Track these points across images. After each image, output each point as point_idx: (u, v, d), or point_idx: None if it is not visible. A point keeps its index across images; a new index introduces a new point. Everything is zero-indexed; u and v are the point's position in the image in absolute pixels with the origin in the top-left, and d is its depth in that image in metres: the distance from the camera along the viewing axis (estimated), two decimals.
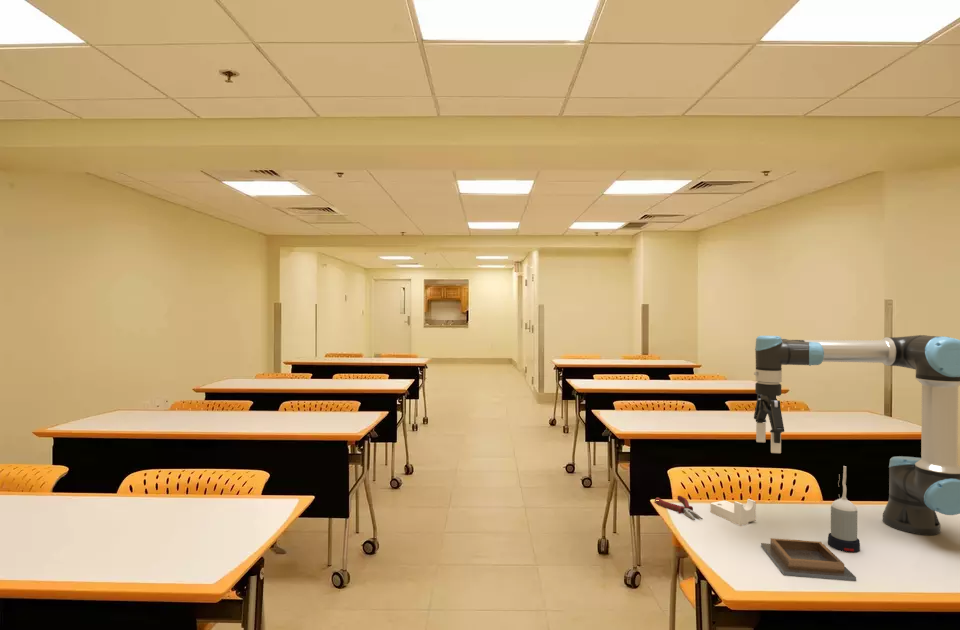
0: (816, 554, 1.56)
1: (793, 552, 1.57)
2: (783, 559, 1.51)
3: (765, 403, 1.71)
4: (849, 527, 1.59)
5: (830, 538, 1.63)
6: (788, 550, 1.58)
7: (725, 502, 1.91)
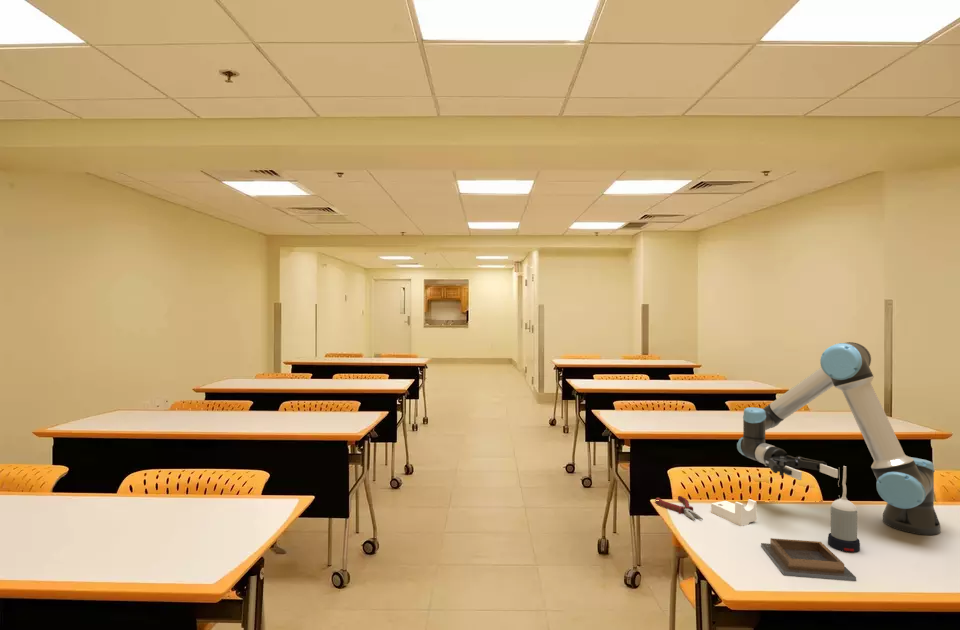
0: (816, 554, 1.56)
1: (793, 552, 1.57)
2: (783, 559, 1.51)
3: (779, 466, 1.86)
4: (849, 527, 1.59)
5: (830, 538, 1.63)
6: (788, 550, 1.58)
7: (726, 502, 1.91)
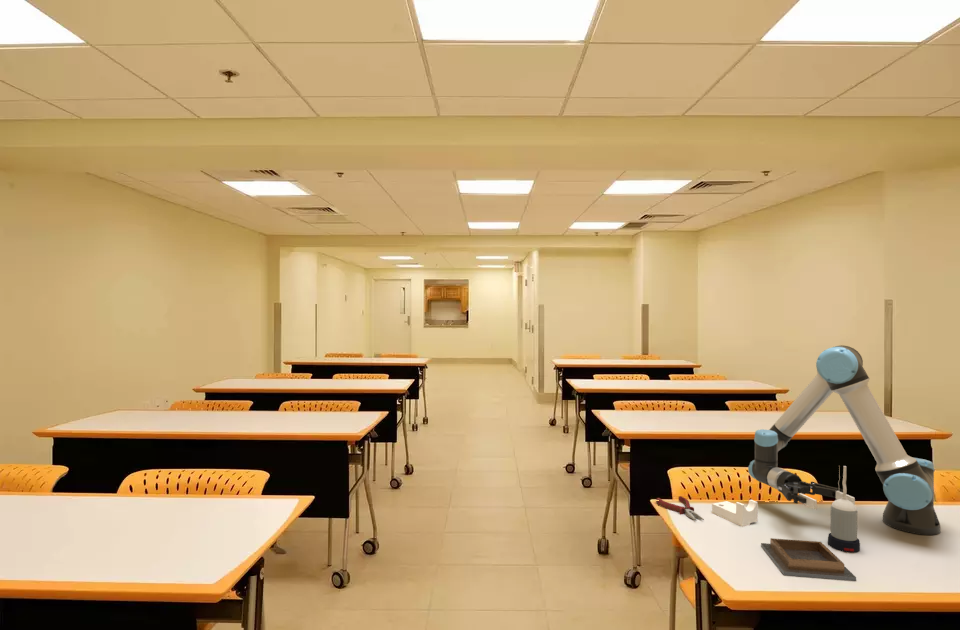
0: (816, 554, 1.56)
1: (793, 552, 1.57)
2: (783, 559, 1.51)
3: (793, 492, 1.79)
4: (849, 527, 1.59)
5: (830, 538, 1.63)
6: (788, 550, 1.58)
7: (727, 503, 1.91)
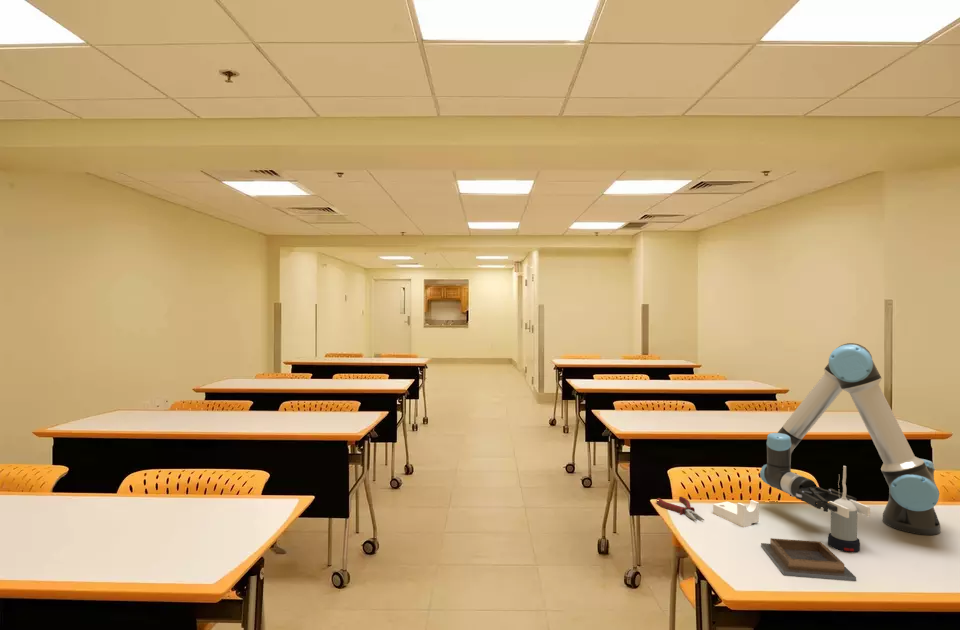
0: (816, 554, 1.56)
1: (793, 552, 1.57)
2: (783, 559, 1.51)
3: None
4: (849, 527, 1.59)
5: (830, 538, 1.63)
6: (788, 550, 1.58)
7: (728, 503, 1.90)
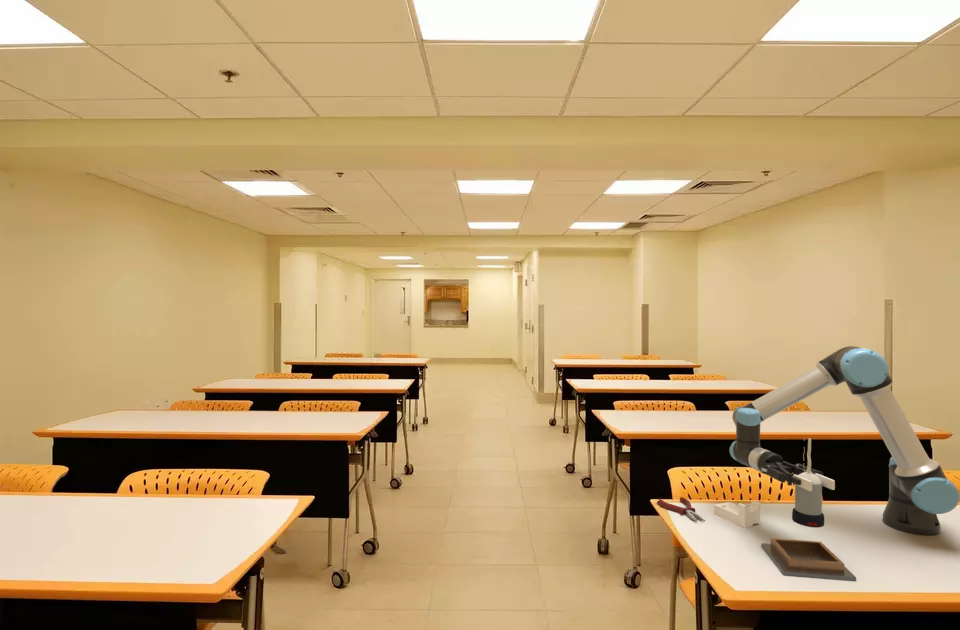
0: (816, 554, 1.56)
1: (793, 552, 1.57)
2: (783, 559, 1.51)
3: None
4: (813, 501, 1.53)
5: (794, 513, 1.57)
6: (788, 550, 1.58)
7: (729, 504, 1.90)
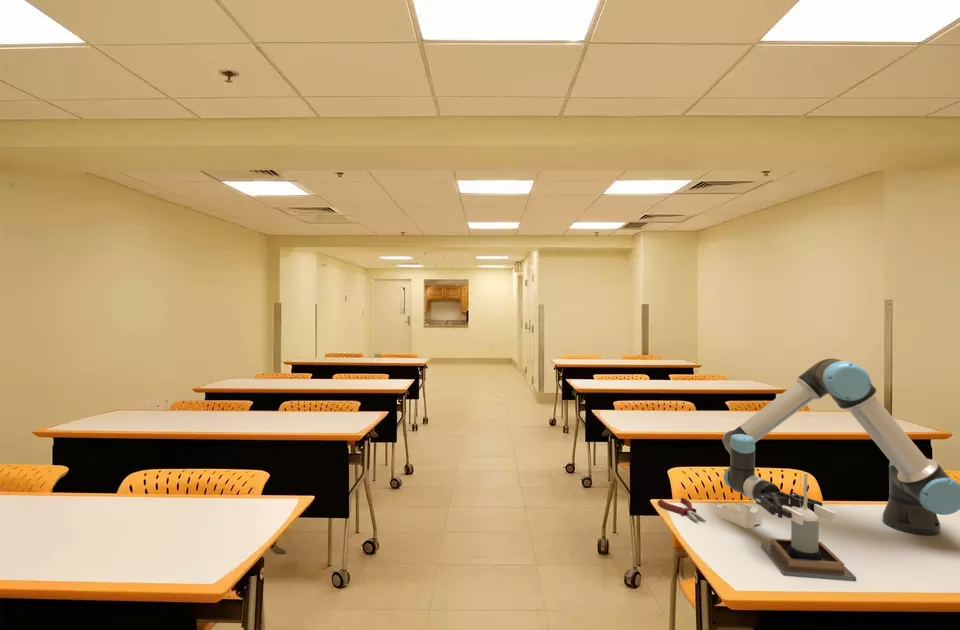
0: None
1: None
2: (783, 559, 1.51)
3: None
4: (810, 538, 1.50)
5: (790, 549, 1.53)
6: None
7: (730, 504, 1.89)
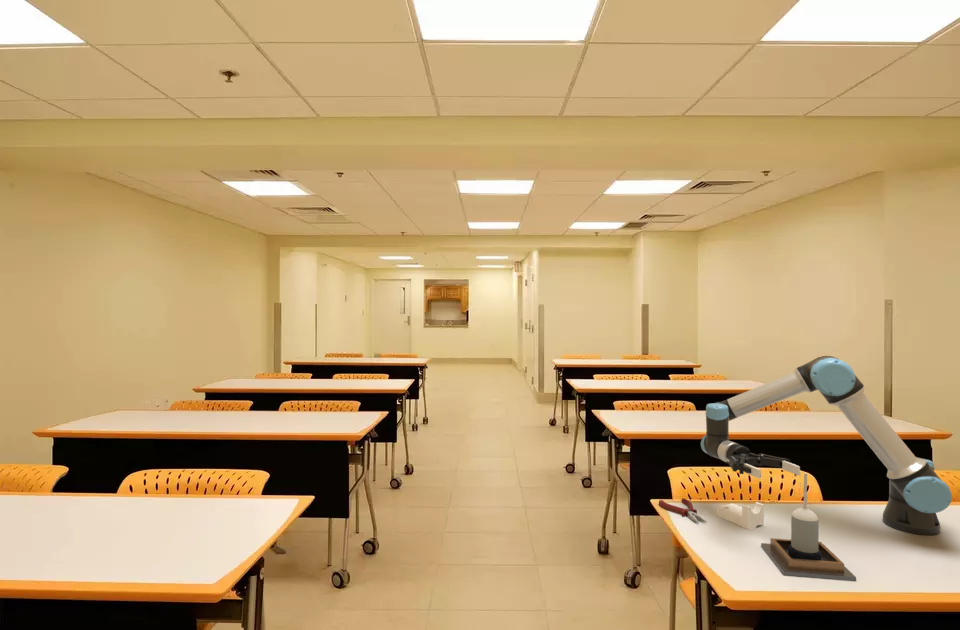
0: None
1: None
2: (783, 559, 1.51)
3: None
4: (810, 538, 1.50)
5: (790, 550, 1.53)
6: None
7: (732, 505, 1.88)
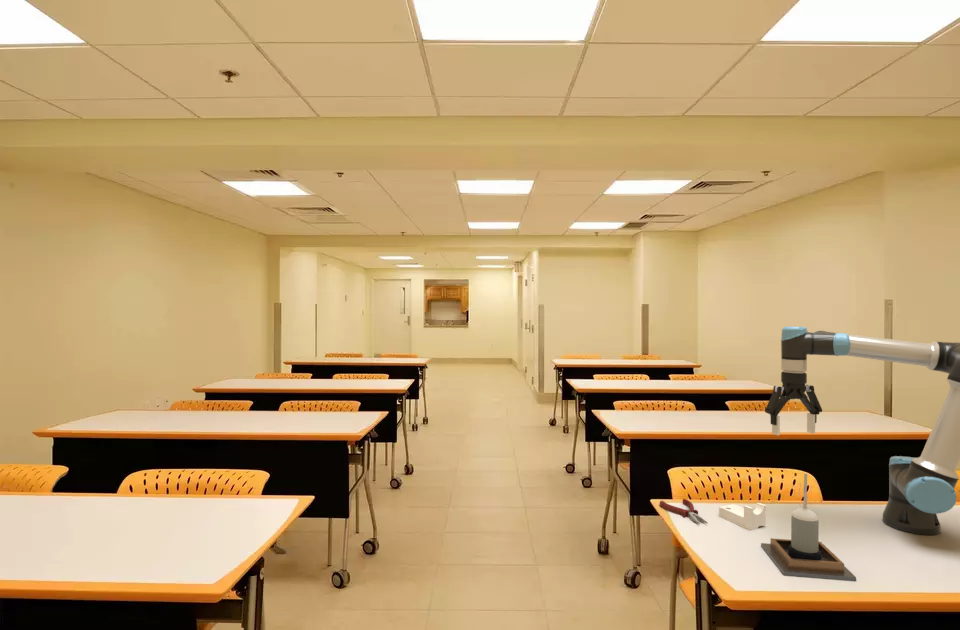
0: None
1: None
2: (783, 559, 1.51)
3: None
4: (810, 538, 1.50)
5: (790, 550, 1.53)
6: None
7: (734, 506, 1.88)
